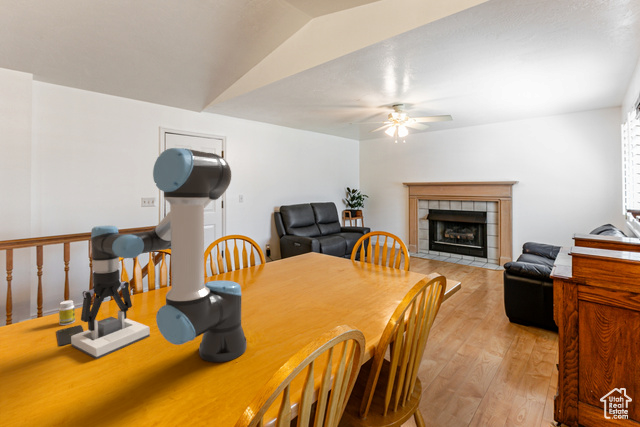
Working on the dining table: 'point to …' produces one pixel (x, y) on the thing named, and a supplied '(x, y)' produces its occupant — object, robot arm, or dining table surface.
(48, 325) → the dining table surface
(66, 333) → the smartphone
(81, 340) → the white slotted tray
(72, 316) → the supplement bottle
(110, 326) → the charger brick
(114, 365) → the dining table surface
